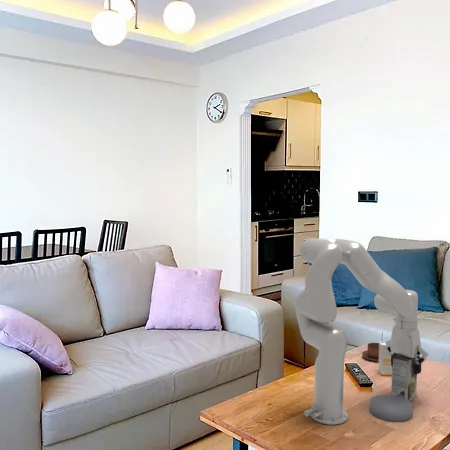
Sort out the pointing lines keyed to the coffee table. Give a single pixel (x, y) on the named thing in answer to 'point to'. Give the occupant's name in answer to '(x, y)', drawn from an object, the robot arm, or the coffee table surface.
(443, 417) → the coffee table surface
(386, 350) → the supplement box
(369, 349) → the cup and saucer
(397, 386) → the coffee box
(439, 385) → the coffee table surface
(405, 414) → the podium
